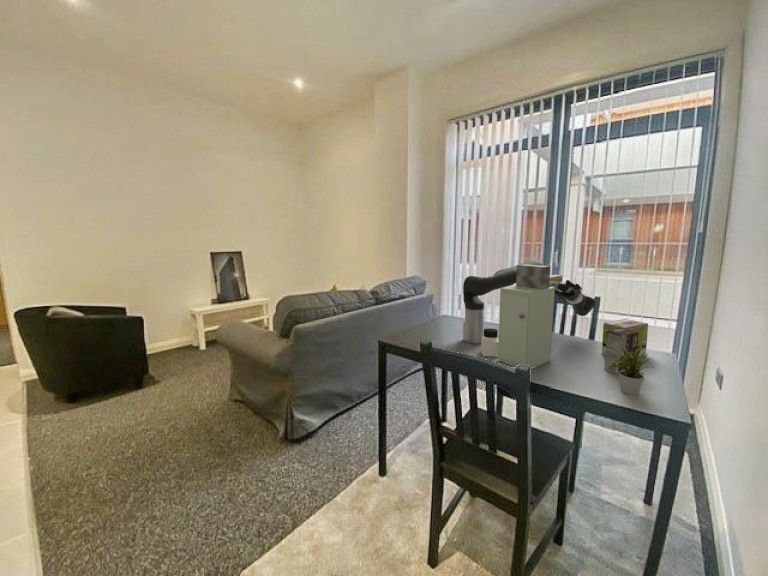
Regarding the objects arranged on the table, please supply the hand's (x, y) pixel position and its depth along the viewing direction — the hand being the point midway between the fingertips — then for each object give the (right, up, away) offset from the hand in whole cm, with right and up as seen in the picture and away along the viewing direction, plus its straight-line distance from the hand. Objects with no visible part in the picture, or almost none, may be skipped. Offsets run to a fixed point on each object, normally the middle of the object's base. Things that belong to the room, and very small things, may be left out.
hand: (557, 280), depth 158 cm
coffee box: (+15, -36, -20) cm, 44 cm away
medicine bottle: (-31, -34, +1) cm, 46 cm away
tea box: (+28, -33, -3) cm, 43 cm away
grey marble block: (-8, -2, -6) cm, 10 cm away
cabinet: (-18, -35, -8) cm, 40 cm away
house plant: (+7, -39, -36) cm, 54 cm away
